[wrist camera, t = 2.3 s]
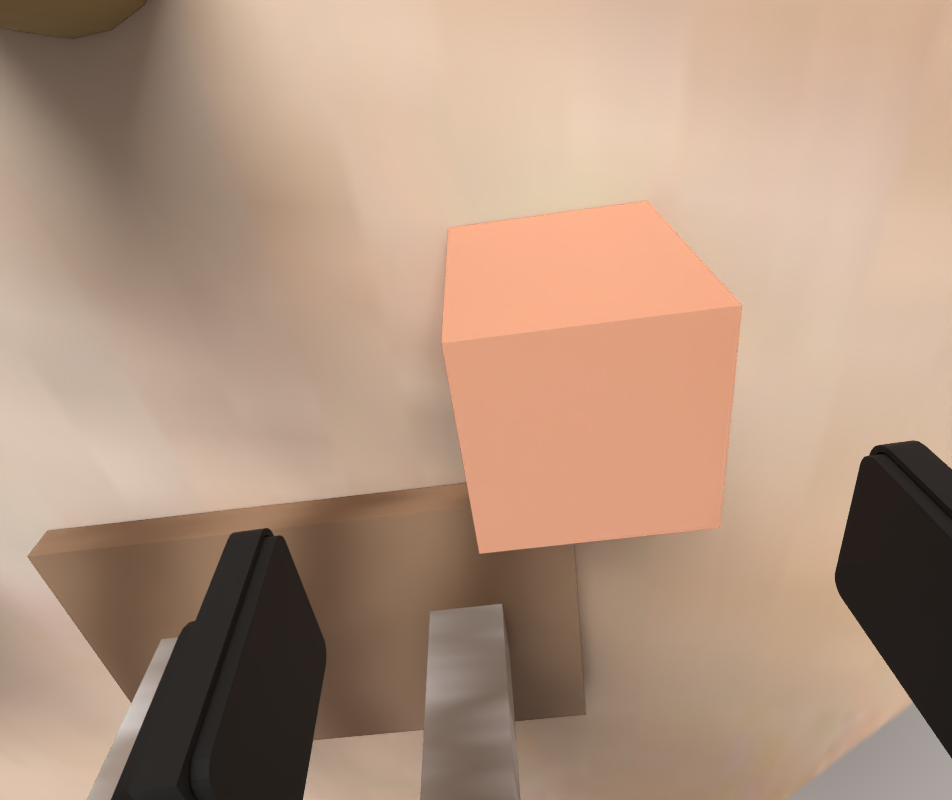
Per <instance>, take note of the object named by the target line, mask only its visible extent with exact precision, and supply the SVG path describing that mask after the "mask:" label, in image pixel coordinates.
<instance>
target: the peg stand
mask: <svg viewBox="0 0 952 800" xmlns="http://www.w3.org/2000/svg"><path fill="white" fill-rule="evenodd" d="M263 528H269V529H270V530H271V531H272V533H273V535H274V536H278V535H282V536H283V537H284V539H285V541H286V543H287V546H288V548H289V551H290V553H291V556H292V559H293V561H294V564H295V566H296V569H297V571H298V574H299V576H300V579H301V582H302V584H303V587H304V589H305V592H306V594H307V597H308V599H309V602H310V604H311V607H312V610H313V612H314V615H315V617H316V620H317V622H318V625H319V627H320V630H321V632H322V635H323V638H324V640H325V644H326V653H327V658H326V667H325V673H324V679H323V685H322V690H321V696H320V702H319V708H318V714H317V720H316V725H315V731H314V737H313V740H320V739H330V738H341V737H352V736H362V735H373V734H384V733H394V732H405V731H416V730H424V739H423V759H422V778H421V798H420V800H520V787H519V773H518V760H517V746H516V732H515V721H522V720H533V719H544V718H554V717H565V716H576V715H586V712H585V697H584V682H583V668H582V653H581V638H580V624H579V609H578V594H577V580H576V565H575V550H574V544H565V545H555V546H546V547H537V548H528V549H518V550H509V551H500V552H491V553H481V554H479V549H478V543H477V538H476V532H475V527H474V521H473V515H472V510H471V504H470V499H469V493H468V488H467V483H462V484H453V485H444V486H436V487H427V488H418V489H410V490H401V491H392V492H383V493H375V494H366V495H357V496H348V497H340V498H331V499H322V500H313V501H305V502H296V503H287V504H278V505H270V506H261V507H252V508H243V509H235V510H226V511H217V512H208V513H200V514H191V515H182V516H173V517H165V518H156V519H147V520H138V521H130V522H121V523H112V524H103V525H95V526H86V527H77V528H68V529H60V530H51V531H47V532H46V533H45V534H44V536H43V537H42V538H41V539H40V541H39V542H38V543H37V545H36V546H35V547H34V548H33V550H32V551H31V552H30V554H29V555H28V556H27V557H28V558H29V560H30V561H31V563H32V564H33V565H34V567H35V568H36V570H37V571H38V572H39V574H40V575H41V577H42V578H43V579H44V581H45V582H46V584H47V585H48V586H49V588H50V589H51V591H52V592H53V593H54V595H55V596H56V598H57V599H58V601H59V602H60V603H61V605H62V606H63V608H64V609H65V610H66V612H67V613H68V615H69V616H70V617H71V619H72V620H73V622H74V623H75V624H76V626H77V627H78V629H79V630H80V632H81V633H82V634H83V636H84V637H85V639H86V640H87V641H88V643H89V644H90V646H91V647H92V648H93V650H94V651H95V653H96V654H97V655H98V657H99V658H100V660H101V661H102V662H103V664H104V665H105V667H106V668H107V670H108V671H109V672H110V674H111V675H112V677H113V678H114V679H115V681H116V682H117V684H118V685H119V686H120V688H121V689H122V691H123V692H124V693H125V695H126V696H127V698H128V699H129V700H130V702H131V706H130V708H129V710H128V712H127V714H126V716H125V718H124V720H123V723H122V725H121V727H120V729H119V731H118V733H117V735H116V738H115V740H114V742H113V744H112V746H111V748H110V750H109V753H108V755H107V757H106V759H105V761H104V763H103V765H102V768H101V770H100V772H99V774H98V776H97V778H96V780H95V783H94V785H93V787H92V789H91V791H90V793H89V795H88V798H87V800H111V798H112V795H113V793H114V791H115V788H116V786H117V783H118V781H119V779H120V776H121V774H122V771H123V769H124V766H125V764H126V762H127V759H128V757H129V754H130V752H131V750H132V747H133V745H134V742H135V740H136V738H137V735H138V733H139V730H140V728H141V725H142V723H143V721H144V718H145V716H146V713H147V711H148V709H149V706H150V704H151V701H152V699H153V697H154V694H155V692H156V689H157V687H158V684H159V682H160V680H161V677H162V675H163V672H164V670H165V668H166V665H167V663H168V660H169V658H170V656H171V653H172V651H173V648H174V646H175V643H176V641H177V639H178V636H179V635H180V633H181V631H182V629H183V627H185V626H186V625H187V624H188V623H189V622H192V621H195V620H196V618H197V615H198V613H199V610H200V608H201V605H202V603H203V600H204V597H205V595H206V592H207V590H208V587H209V585H210V582H211V580H212V577H213V575H214V572H215V570H216V567H217V565H218V562H219V560H220V557H221V555H222V552H223V550H224V547H225V545H226V542H227V540H228V538H229V536H230V535H231V534H232V533H233V532H241V531H248V530H255V529H263Z"/></svg>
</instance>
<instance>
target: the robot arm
mask: <svg viewBox="0 0 952 800" xmlns="http://www.w3.org/2000/svg"><path fill="white" fill-rule="evenodd" d="M835 583H836V587H837V590H838V592H839V594H840V596H841V598H842V599H843V601H844V602H845V604H846V605H847V606H848V608H849V609H850V611H851V612H852V614H853V615H854V617H855V618H856V620H857V621H858V622H859V624H860V625H861V627H862V628H863V630H864V631H865V633H866V634H867V636H868V637H869V639H870V640H871V641H872V643H873V644H874V646H875V647H876V649H877V650H878V652H879V653H880V655H881V656H882V657H883V659H884V660H885V662H886V663H887V665H888V666H889V668H890V669H891V671H892V672H893V673H894V675H895V676H896V678H897V679H898V681H899V682H900V684H901V685H902V687H903V688H904V689H905V691H906V692H907V694H908V695H909V697H910V698H911V700H912V701H913V703H914V704H915V705H916V707H917V708H918V710H919V711H920V713H921V714H922V716H923V717H924V719H925V720H926V722H927V723H928V724H929V726H930V727H931V729H932V730H933V732H934V733H935V734H936V736H937V738H938V739H939V740H940V742H941V743H942V745H943V746H944V748H945V749H946V750H947V752H948V754H949V755H950V756H951V758H952V469H951V468H950V467H948V466H947V465H946V464H945V463H944V462H943V461H942V460H941V459H940V458H938V457H937V456H936V455H935V454H934V453H933V452H932V451H931V450H929V449H928V448H927V447H926V446H925V445H923V444H922V443H920V442H918V441H906V442H899V443H891V444H884V445H878V446H875V447H874V448H873V449H872V450H871V453H870V455H869V456H866V457H864V458H863V459H862V461H861V463H860V467H859V472H858V476H857V481H856V485H855V489H854V494H853V498H852V502H851V507H850V511H849V515H848V520H847V524H846V528H845V533H844V537H843V541H842V546H841V550H840V554H839V559H838V563H837V567H836V572H835ZM326 658H327V653H326V644H325V640H324V638H323V635H322V632H321V630H320V627H319V625H318V622H317V620H316V617H315V615H314V612H313V610H312V607H311V604H310V602H309V599H308V597H307V594H306V592H305V589H304V587H303V584H302V582H301V579H300V576H299V574H298V571H297V569H296V566H295V564H294V561H293V559H292V556H291V553H290V551H289V548H288V546H287V543H286V541H285V539H284V537H283V536H282V535H278V536H274V535H273V533H272V531H271V530H270V529H269V528H263V529H255V530H248V531H241V532H233V533H232V534H231V535H230V536H229V538H228V540H227V542H226V545H225V547H224V550H223V552H222V555H221V557H220V560H219V562H218V565H217V567H216V570H215V572H214V575H213V577H212V580H211V582H210V585H209V587H208V590H207V592H206V595H205V597H204V600H203V603H202V605H201V608H200V610H199V613H198V615H197V618H196V620H195V621H192V622H189V623H188V624H187V625H186V626H185V627H183V629H182V631H181V633H180V635H179V636H178V639H177V641H176V643H175V646H174V648H173V651H172V653H171V656H170V658H169V660H168V663H167V665H166V668H165V670H164V672H163V675H162V677H161V680H160V682H159V684H158V687H157V689H156V692H155V694H154V697H153V699H152V701H151V704H150V706H149V709H148V711H147V713H146V716H145V718H144V721H143V723H142V725H141V728H140V730H139V733H138V735H137V738H136V740H135V742H134V745H133V747H132V750H131V752H130V754H129V757H128V759H127V762H126V764H125V766H124V769H123V771H122V774H121V776H120V779H119V781H118V783H117V786H116V788H115V791H114V793H113V795H112V798H111V800H303V796H304V790H305V784H306V778H307V772H308V766H309V760H310V755H311V749H312V743H313V737H314V731H315V725H316V720H317V714H318V708H319V702H320V696H321V690H322V685H323V679H324V673H325V667H326Z"/></svg>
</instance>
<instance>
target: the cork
mask: <svg viewBox="0 0 952 800" xmlns="http://www.w3.org/2000/svg"><path fill="white" fill-rule="evenodd" d="M145 2H146V0H0V28H3V29H9V30H15V31H21V32H28V33H35V34H42V35H50V36H57V37H64V38H72V39H73V38H77V37H82V36H86V35H90V34H94V33H99V32H103V31H107V30H111V29H113V28H114V27H116V26H117V25H118V24H120V23H121V22H122V21H124V20H125V19H126V18H128V17H129V16H130V15H132V14H133V13H134V12H135V11H137V10H138V9H139V8H141V7H142V6H143V5H144V4H145Z"/></svg>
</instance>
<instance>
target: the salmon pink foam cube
mask: <svg viewBox="0 0 952 800" xmlns="http://www.w3.org/2000/svg"><path fill="white" fill-rule="evenodd" d="M741 312H742V304H741V303H740V302H739V301H738V300H737V299H736V298H735V297H734V296H733V295H732V293H731V292H730V291H729V290H728V289H727V288H726V287H725V286H724V285H723V284H722V282H721V281H720V280H719V279H718V278H717V277H716V276H715V275H714V274H713V273H712V271H711V270H710V269H709V268H708V267H707V266H706V265H705V264H704V263H703V262H702V260H701V259H700V258H699V257H698V256H697V255H696V254H695V253H694V252H693V251H692V249H691V248H690V247H689V246H688V245H687V244H686V243H685V242H684V241H683V240H682V238H681V237H680V236H679V235H678V234H677V233H676V232H675V231H674V230H673V229H672V227H671V226H670V225H669V224H668V223H667V222H666V221H665V220H664V219H663V218H662V216H661V215H660V214H659V213H658V212H657V211H656V210H655V209H654V208H653V207H652V205H651V204H650V203H649V202H648V201H643V202H636V203H629V204H621V205H614V206H607V207H599V208H592V209H585V210H577V211H570V212H563V213H555V214H548V215H541V216H533V217H526V218H518V219H511V220H504V221H496V222H489V223H482V224H474V225H467V226H460V227H452V228H448V241H447V259H446V276H445V293H444V310H443V327H442V348H443V354H444V360H445V365H446V371H447V376H448V382H449V387H450V393H451V399H452V404H453V410H454V415H455V421H456V426H457V432H458V437H459V443H460V449H461V454H462V460H463V465H464V471H465V476H466V482H467V488H468V493H469V499H470V504H471V510H472V515H473V521H474V527H475V532H476V538H477V543H478V549H479V554H481V553H491V552H500V551H509V550H518V549H528V548H537V547H546V546H555V545H565V544H574V543H583V542H592V541H602V540H611V539H620V538H629V537H638V536H648V535H657V534H666V533H675V532H685V531H694V530H703V529H712V528H720V524H721V514H722V504H723V494H724V484H725V474H726V464H727V454H728V443H729V433H730V423H731V413H732V403H733V393H734V383H735V373H736V362H737V352H738V342H739V332H740V322H741Z"/></svg>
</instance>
